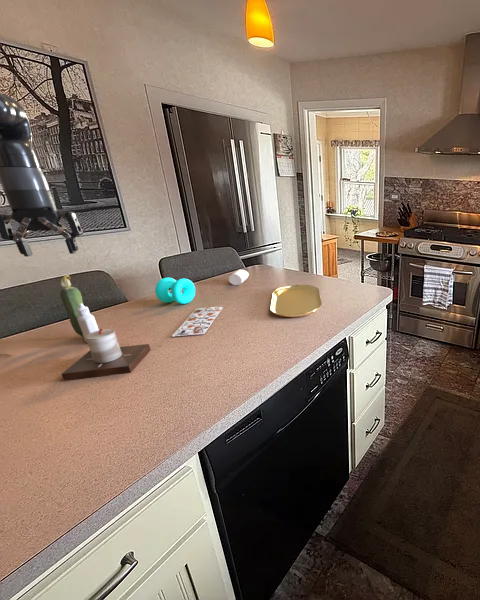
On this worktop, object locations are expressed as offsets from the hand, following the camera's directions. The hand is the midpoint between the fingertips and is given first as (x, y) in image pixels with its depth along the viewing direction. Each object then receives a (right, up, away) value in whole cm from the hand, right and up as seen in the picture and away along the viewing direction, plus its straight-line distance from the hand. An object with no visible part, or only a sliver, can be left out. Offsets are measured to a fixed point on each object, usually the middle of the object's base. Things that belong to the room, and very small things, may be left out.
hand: (51, 254), depth 83 cm
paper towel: (+20, -19, +30) cm, 40 cm away
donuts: (+2, -13, +46) cm, 47 cm away
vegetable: (-9, -23, +18) cm, 31 cm away
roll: (+14, -3, +72) cm, 73 cm away
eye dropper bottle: (-4, -24, +16) cm, 29 cm away
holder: (+12, -29, +4) cm, 31 cm away
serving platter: (+48, -13, +48) cm, 69 cm away
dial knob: (+12, -27, +3) cm, 30 cm away
